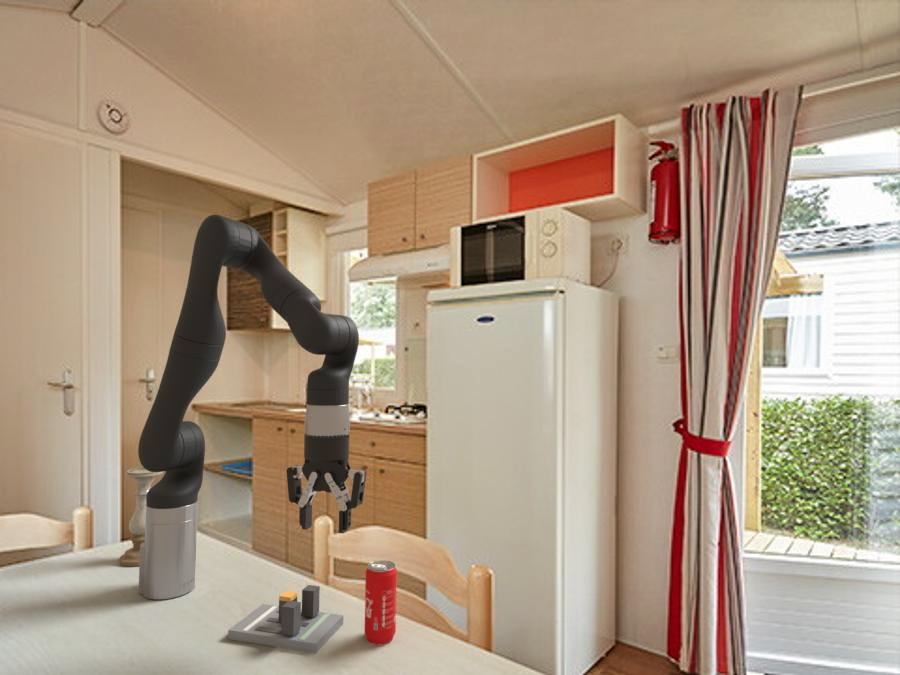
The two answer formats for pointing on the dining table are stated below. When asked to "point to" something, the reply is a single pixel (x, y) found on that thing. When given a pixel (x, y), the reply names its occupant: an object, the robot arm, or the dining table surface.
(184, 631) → the dining table surface
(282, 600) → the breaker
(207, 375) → the robot arm
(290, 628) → the block
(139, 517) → the candle holder
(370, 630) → the beverage can
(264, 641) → the panel
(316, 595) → the block
